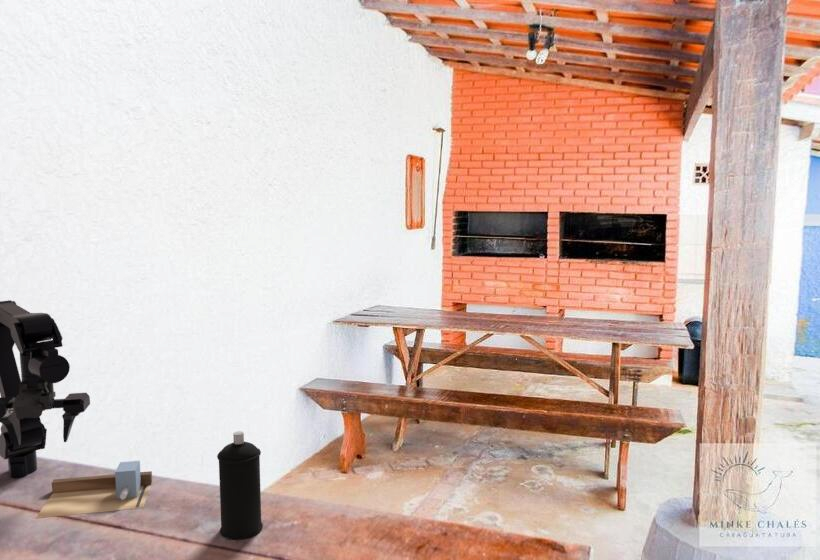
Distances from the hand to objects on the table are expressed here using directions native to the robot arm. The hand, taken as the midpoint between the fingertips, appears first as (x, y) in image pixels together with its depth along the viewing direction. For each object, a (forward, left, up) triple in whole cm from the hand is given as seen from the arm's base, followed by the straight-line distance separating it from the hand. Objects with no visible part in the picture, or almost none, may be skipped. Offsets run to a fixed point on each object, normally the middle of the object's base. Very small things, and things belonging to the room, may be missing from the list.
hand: (42, 443), depth 139 cm
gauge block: (+7, +18, -10) cm, 22 cm away
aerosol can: (+23, +42, -12) cm, 49 cm away
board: (+7, +12, -12) cm, 18 cm away
